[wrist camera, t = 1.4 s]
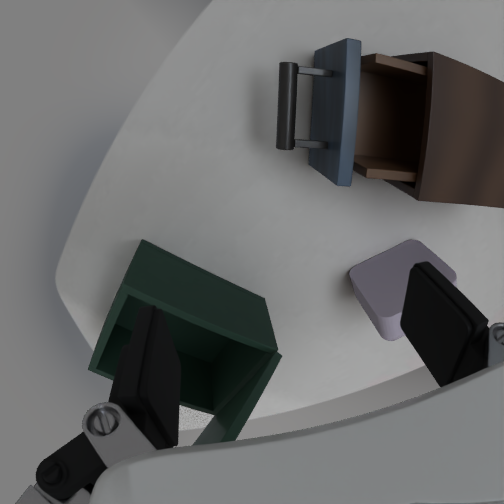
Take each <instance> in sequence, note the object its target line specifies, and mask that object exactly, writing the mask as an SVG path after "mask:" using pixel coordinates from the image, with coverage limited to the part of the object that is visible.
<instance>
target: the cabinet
mask: <svg viewBox="0 0 504 504" xmlns="http://www.w3.org/2000/svg"><path fill="white" fill-rule="evenodd" d="M392 57H393V58H397V59H401V60H404V61H408V62H411V63H415V64H418V65H421V66H425V67H428V69H427V91H426V105H425V117H424V127H423V137H422V145H421V153H420V160H419V167H418V173H417V180H416V182H409V181H398V180H386V179H382V180H384V181H386V182H388V183H389V184H391V185H393V186H395V187H396V188H398V189H400V190H402V191H403V192H405V193H407V194H408V195H410V196H412V197H413V198H415V199H416V200H418V201H429V202H442V203H455V204H467V205H478V206H488V207H497V208H504V82H502V81H500V80H498V79H496V78H494V77H492V76H490V75H488V74H486V73H484V72H482V71H480V70H477V69H475V68H473V67H471V66H468V65H466V64H464V63H461V62H459V61H456V60H454V59H452V58H449V57H446V56H444V55H441V54H438V53H436V52H425V53H415V54H407V55H399V56H392Z"/></svg>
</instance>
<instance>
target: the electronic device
mask: <svg viewBox="0 0 504 504" xmlns="http://www.w3.org/2000/svg"><path fill="white" fill-rule="evenodd" d="M425 261H428V262H430V263H431V264H432V265H433V266H434V267H435V268H436V269H437V270H439V271H440V272H441V273H442V274H443V275H444V276H445V277H446V278H447V279H448V280H449V281H450V282H451V283H452V284H453V285H454V286H455V287H456V273H455V271H454V270H453V269H451V268H450V267H449V266H448V265H447V264H446V263H445V262H444V261H442V260H441V259H440V258H439V257H438V256H437V255H436V254H434V253H433V252H432V251H431V250H430V249H428V248H427V247H426V246H425V245H424V244H423V243H421V242H420V241H418V240H408V241H405V242H403V243H401V244H399V245H397V246H395V247H393V248H391V249H389V250H387V251H385V252H383V253H381V254H379V255H377V256H375V257H373V258H371V259H368V260H366V261H364V262H362V263H360V264H358V265H356V266H354V267H353V268H352V269H351V270H350V273H349V274H350V278H351V282H352V285H353V289H354V292H355V295H356V298H357V299H358V301H359V302H360V304H361V306H362V307H363V309H364V310H365V312H366V313H367V315H368V317H369V318H370V320H371V321H372V323H373V324H374V326H375V328H376V329H377V331H378V332H379V334H380V336H381V337H382V338H384V339H385V340H388V341H394V340H397V339H399V338H401V337H402V336H404V335H405V334H404V332H403V331H402V329H401V327H400V319H401V315H402V310H403V305H404V300H405V295H406V290H407V284H408V278H409V272H410V269H411V268H413V265H414V264H415V263H420V262H425ZM456 288H457V287H456Z"/></svg>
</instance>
